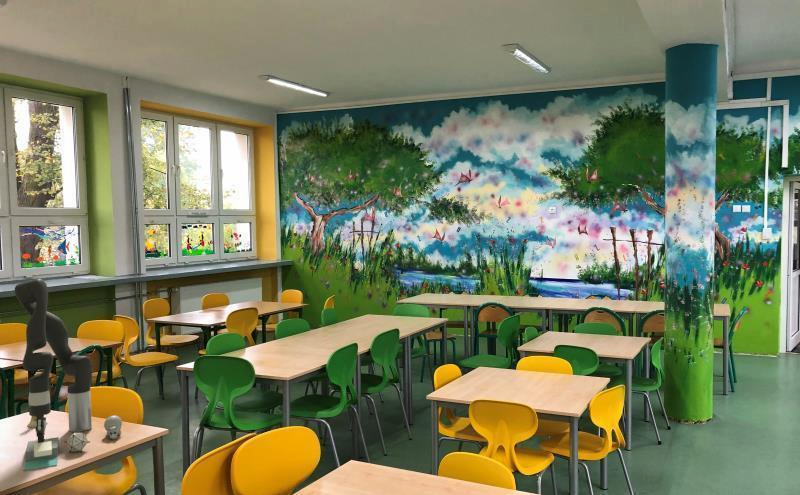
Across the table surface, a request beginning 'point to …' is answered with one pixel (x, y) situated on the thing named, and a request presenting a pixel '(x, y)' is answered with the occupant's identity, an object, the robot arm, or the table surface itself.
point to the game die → (77, 441)
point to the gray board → (30, 456)
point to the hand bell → (33, 422)
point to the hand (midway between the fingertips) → (41, 445)
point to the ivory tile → (42, 449)
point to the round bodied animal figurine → (113, 426)
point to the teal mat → (40, 463)
